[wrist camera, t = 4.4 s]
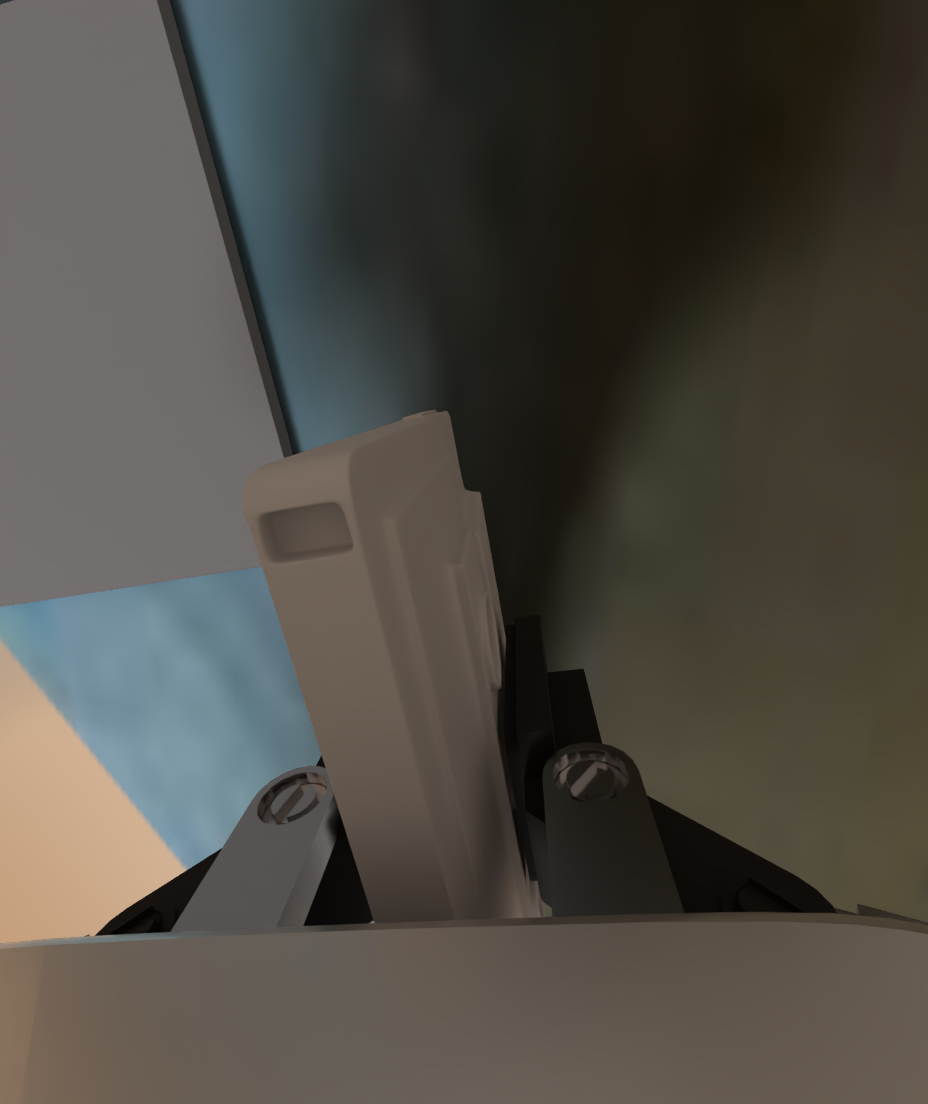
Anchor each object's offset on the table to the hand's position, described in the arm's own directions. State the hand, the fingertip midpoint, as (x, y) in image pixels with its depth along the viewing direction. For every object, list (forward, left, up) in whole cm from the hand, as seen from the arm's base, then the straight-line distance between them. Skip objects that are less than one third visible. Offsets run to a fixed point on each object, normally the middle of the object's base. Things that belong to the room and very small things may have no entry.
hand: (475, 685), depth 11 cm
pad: (+10, -9, -3) cm, 14 cm away
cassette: (0, 0, -2) cm, 2 cm away
